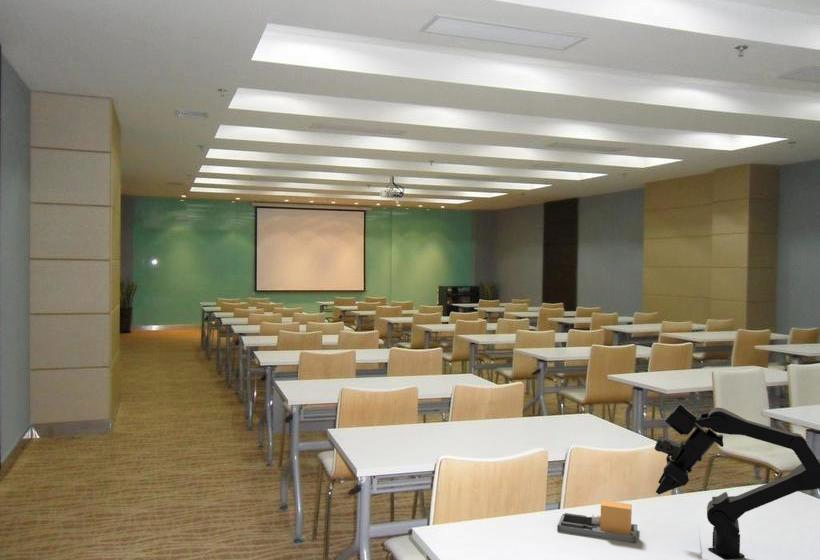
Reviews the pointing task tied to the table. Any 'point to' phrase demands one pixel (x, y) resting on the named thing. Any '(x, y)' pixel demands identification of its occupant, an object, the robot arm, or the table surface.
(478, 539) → the table surface
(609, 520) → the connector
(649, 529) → the table surface
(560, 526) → the tray
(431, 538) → the table surface
